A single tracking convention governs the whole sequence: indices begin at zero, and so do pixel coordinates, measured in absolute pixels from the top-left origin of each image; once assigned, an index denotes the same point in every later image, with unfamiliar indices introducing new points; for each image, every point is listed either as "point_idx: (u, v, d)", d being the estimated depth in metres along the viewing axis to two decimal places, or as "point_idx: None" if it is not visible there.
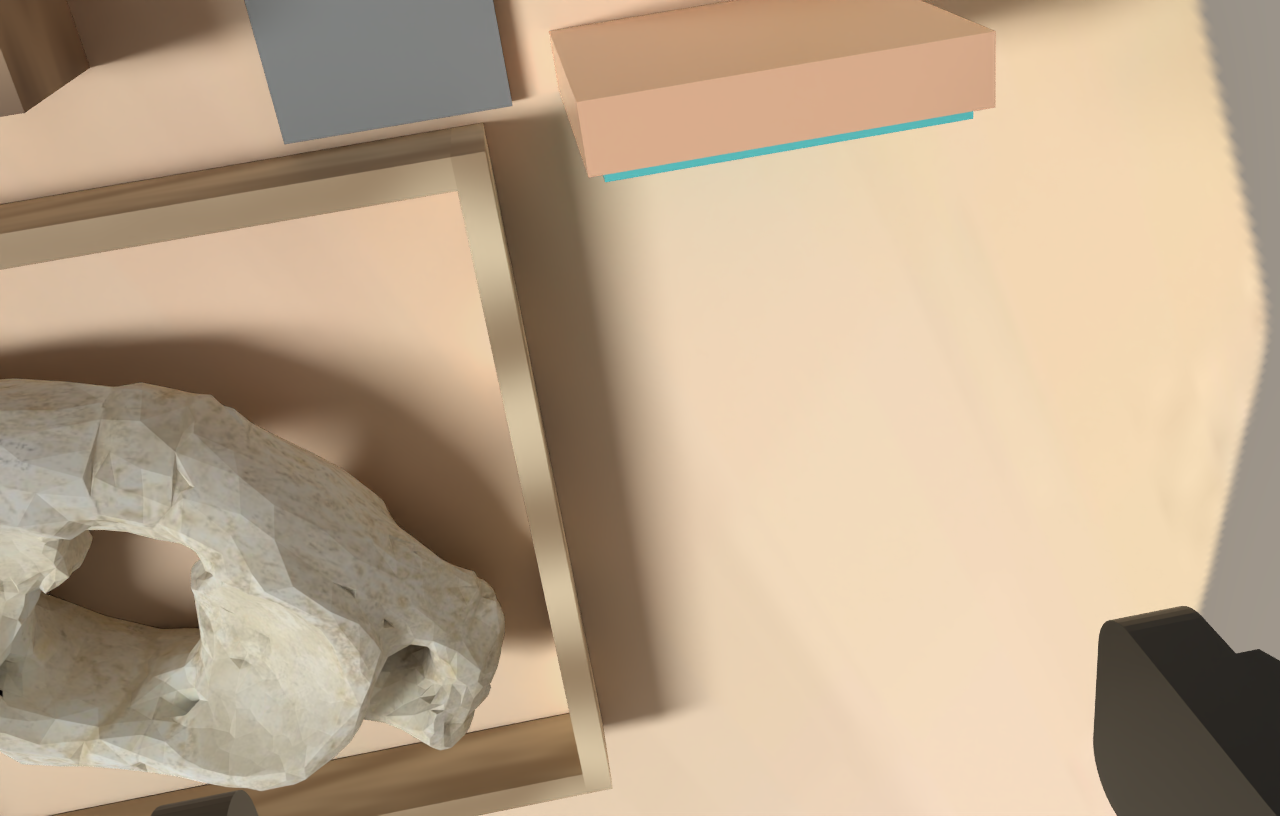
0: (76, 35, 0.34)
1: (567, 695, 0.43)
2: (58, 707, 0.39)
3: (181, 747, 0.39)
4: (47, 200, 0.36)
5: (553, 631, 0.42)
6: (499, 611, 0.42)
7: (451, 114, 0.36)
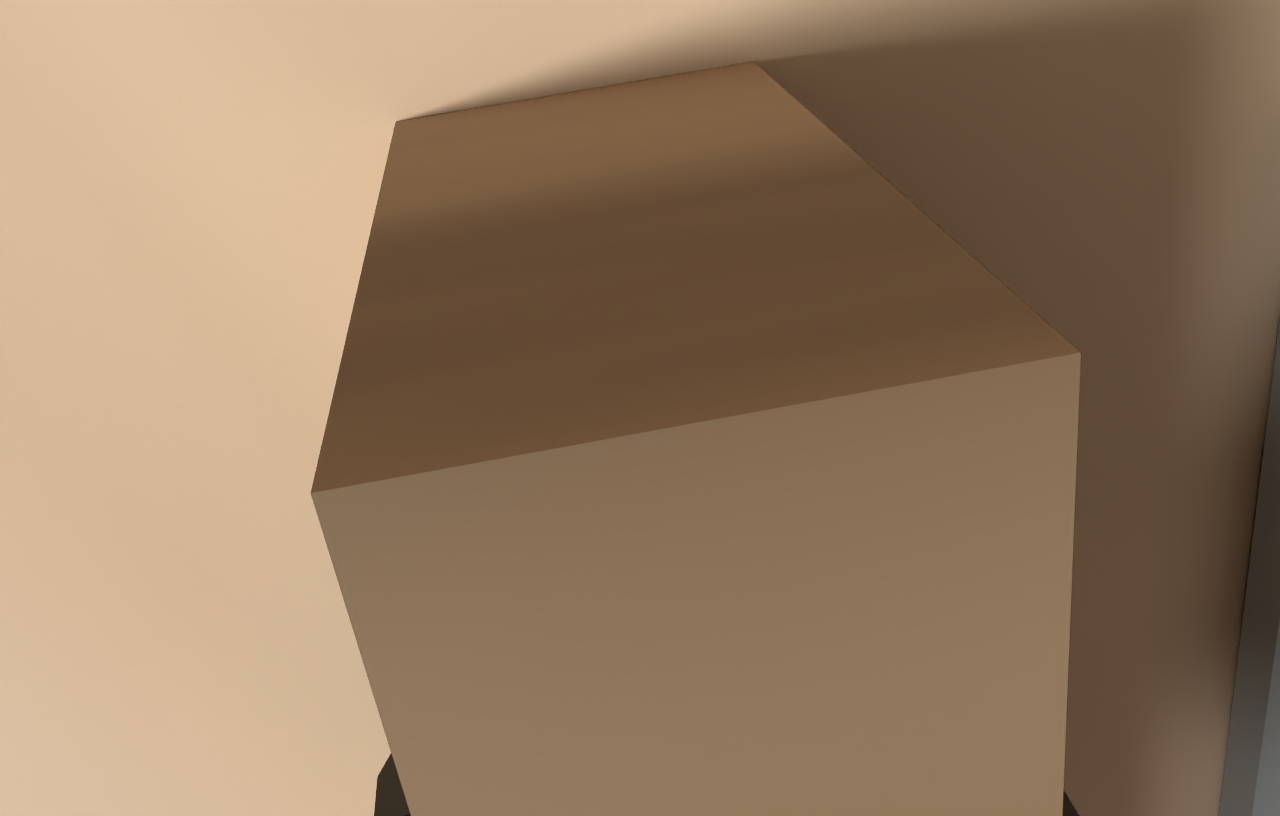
0: None
1: None
2: None
3: None
4: None
5: None
6: None
7: None
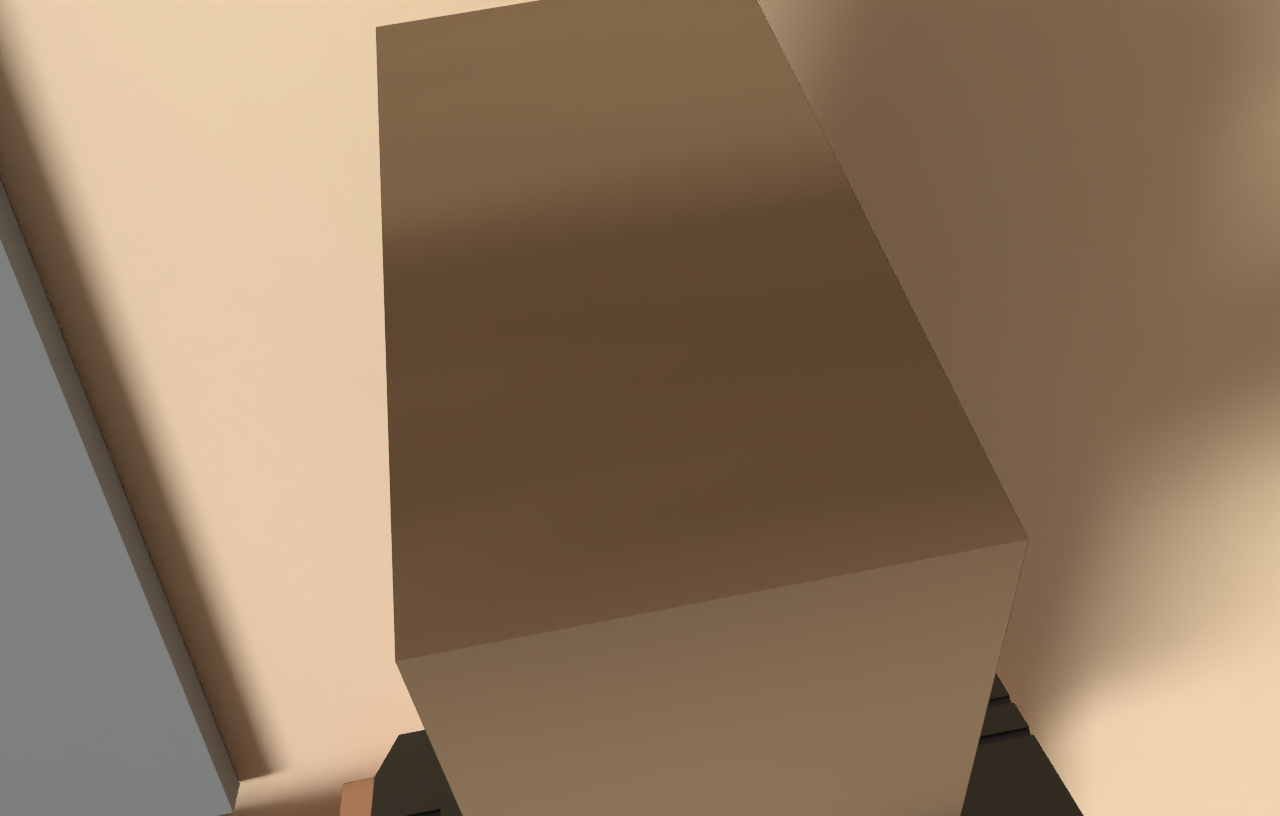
0: None
1: None
2: None
3: None
4: None
5: None
6: None
7: None
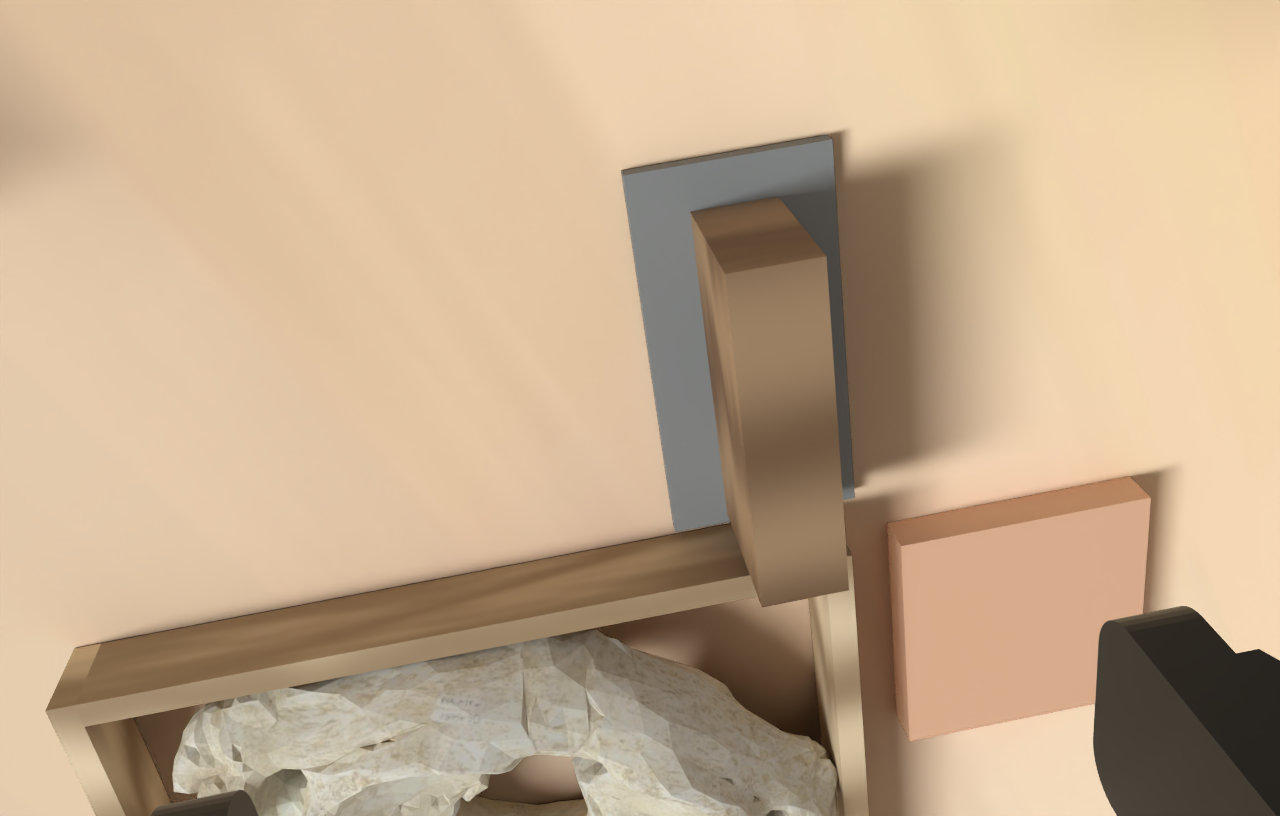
0: None
1: None
2: None
3: None
4: (486, 577, 0.45)
5: None
6: (833, 767, 0.49)
7: None
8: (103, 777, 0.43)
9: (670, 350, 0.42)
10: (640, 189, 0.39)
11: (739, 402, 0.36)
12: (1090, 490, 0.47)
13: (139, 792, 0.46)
